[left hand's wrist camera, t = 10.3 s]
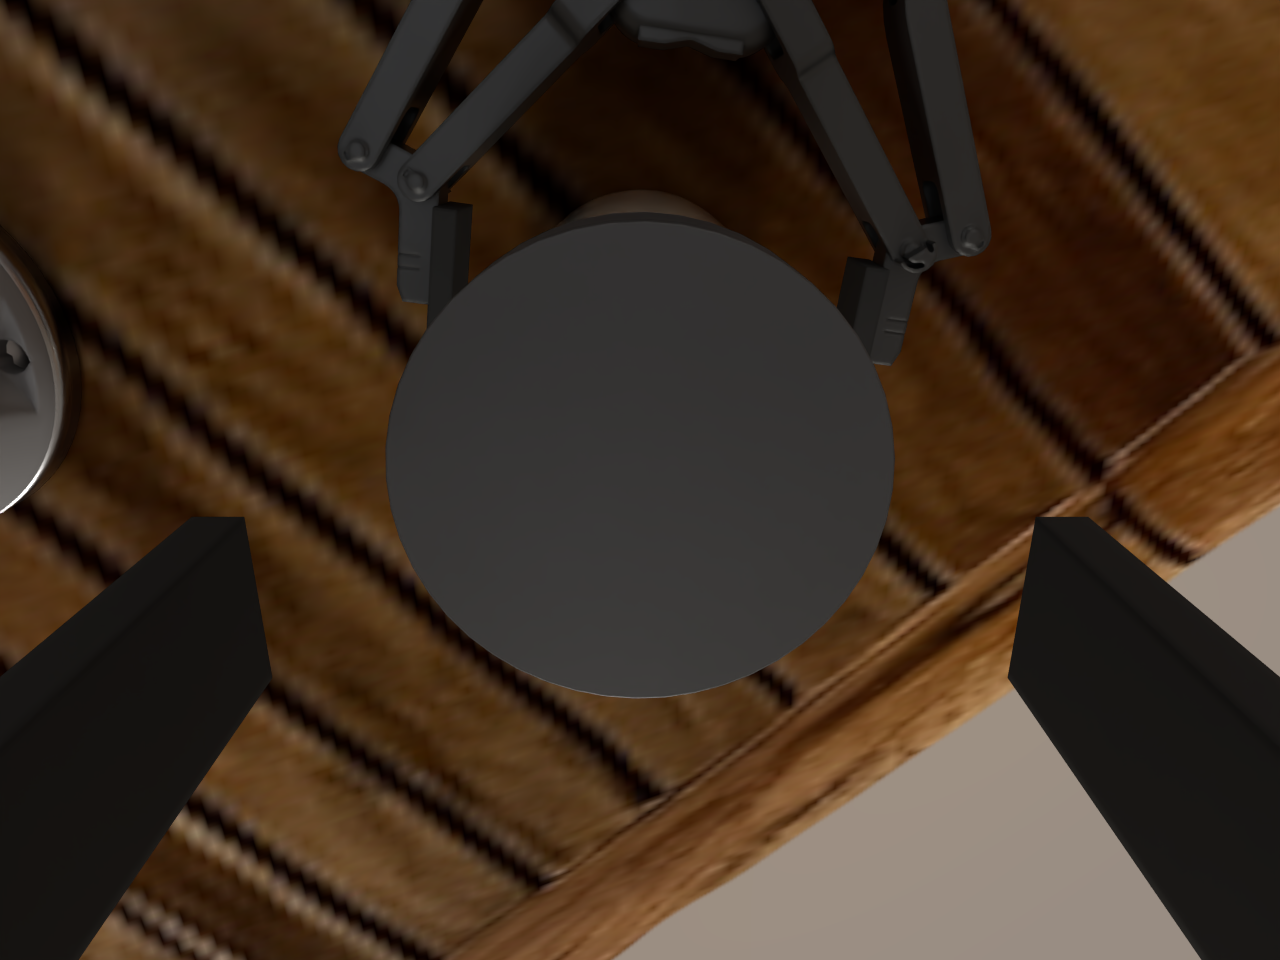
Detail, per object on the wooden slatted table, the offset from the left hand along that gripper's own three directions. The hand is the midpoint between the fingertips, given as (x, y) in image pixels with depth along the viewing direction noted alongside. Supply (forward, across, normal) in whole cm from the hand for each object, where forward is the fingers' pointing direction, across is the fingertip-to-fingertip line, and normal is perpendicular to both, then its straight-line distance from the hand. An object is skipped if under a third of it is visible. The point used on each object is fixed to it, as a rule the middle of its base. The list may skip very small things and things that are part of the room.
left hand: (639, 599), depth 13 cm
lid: (+5, 0, 0) cm, 5 cm away
